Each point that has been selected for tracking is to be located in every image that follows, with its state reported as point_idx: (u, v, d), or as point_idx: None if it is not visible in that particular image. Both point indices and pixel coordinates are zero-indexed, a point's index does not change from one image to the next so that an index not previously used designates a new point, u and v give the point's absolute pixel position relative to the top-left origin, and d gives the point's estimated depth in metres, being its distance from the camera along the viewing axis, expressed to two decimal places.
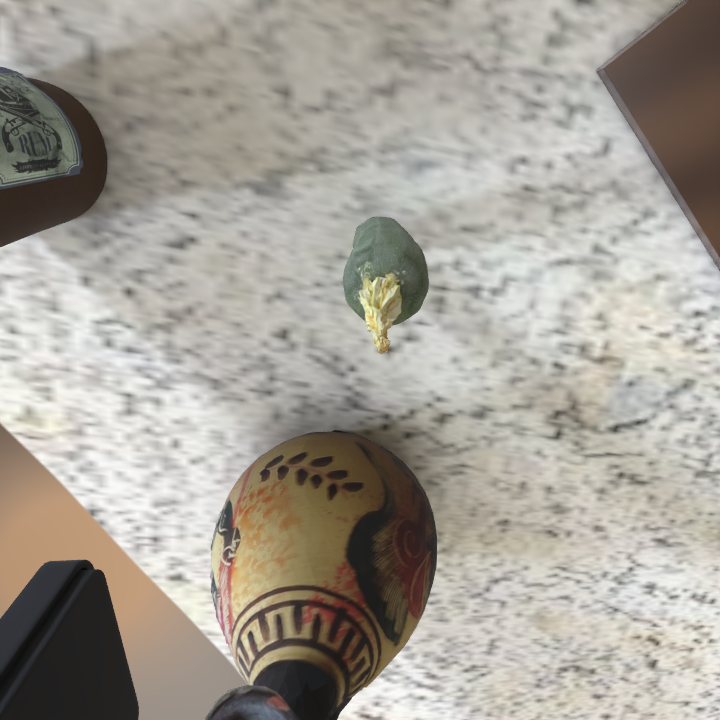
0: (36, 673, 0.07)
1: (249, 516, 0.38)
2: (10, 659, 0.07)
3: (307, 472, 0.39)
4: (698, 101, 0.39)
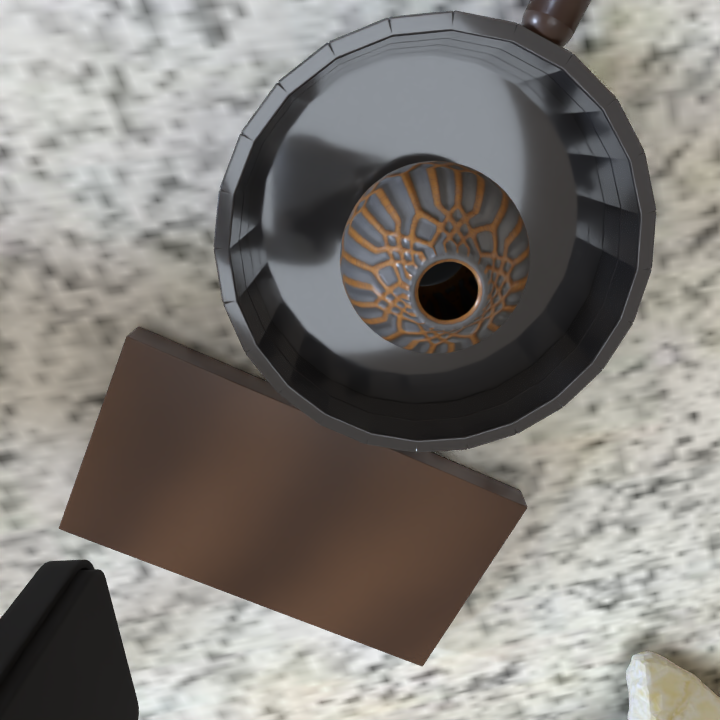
0: (37, 673, 0.07)
1: None
2: (11, 659, 0.07)
3: None
4: (184, 512, 0.30)
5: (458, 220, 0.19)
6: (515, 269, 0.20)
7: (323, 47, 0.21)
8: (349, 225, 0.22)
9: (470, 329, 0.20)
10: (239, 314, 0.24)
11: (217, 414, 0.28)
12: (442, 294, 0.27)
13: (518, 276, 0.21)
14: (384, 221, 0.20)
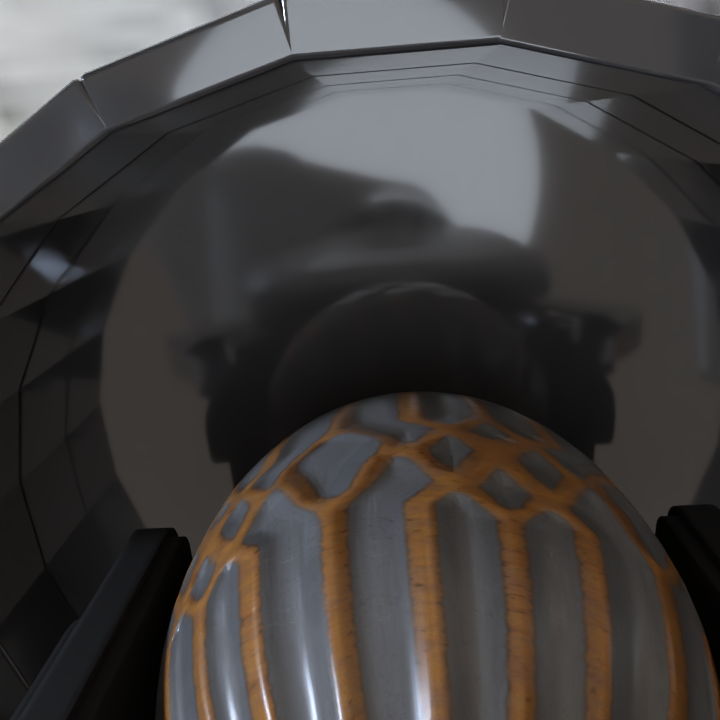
0: (145, 625, 0.08)
1: None
2: (122, 612, 0.08)
3: None
4: None
5: None
6: None
7: (63, 94, 0.06)
8: (171, 630, 0.07)
9: None
10: None
11: None
12: None
13: None
14: None
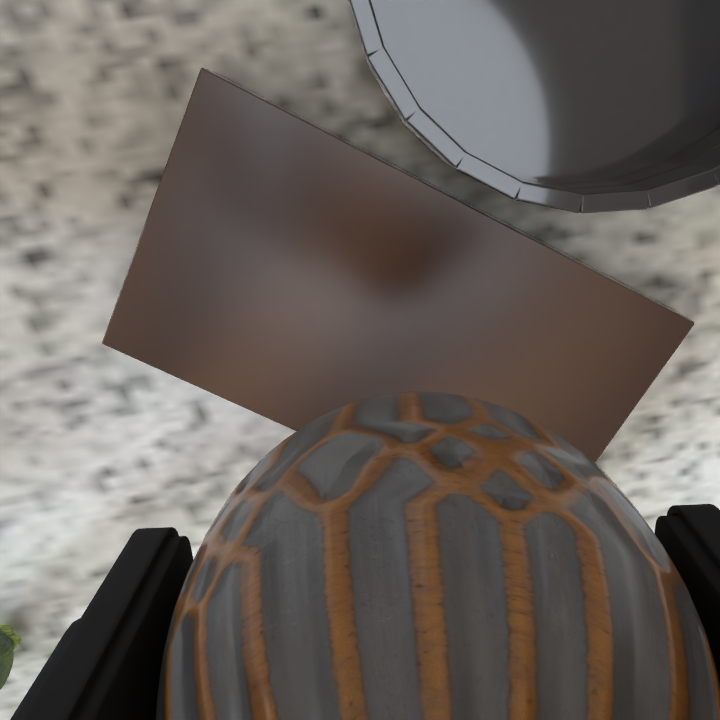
0: (146, 625, 0.08)
1: None
2: (123, 612, 0.08)
3: None
4: (259, 323, 0.24)
5: None
6: None
7: None
8: (172, 631, 0.07)
9: None
10: None
11: (310, 183, 0.22)
12: None
13: None
14: None
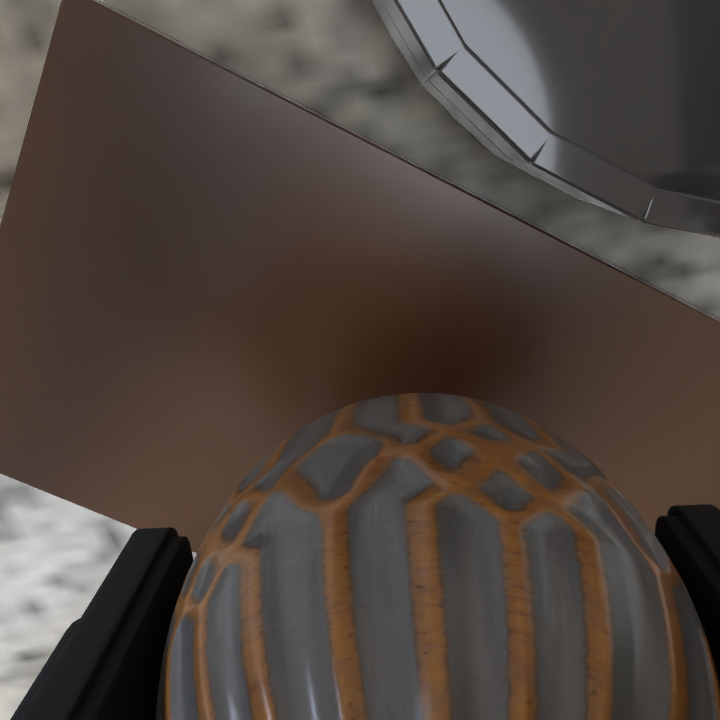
0: (145, 625, 0.08)
1: None
2: (123, 612, 0.08)
3: None
4: (190, 418, 0.15)
5: None
6: None
7: None
8: (172, 631, 0.07)
9: None
10: None
11: (266, 191, 0.13)
12: None
13: None
14: None
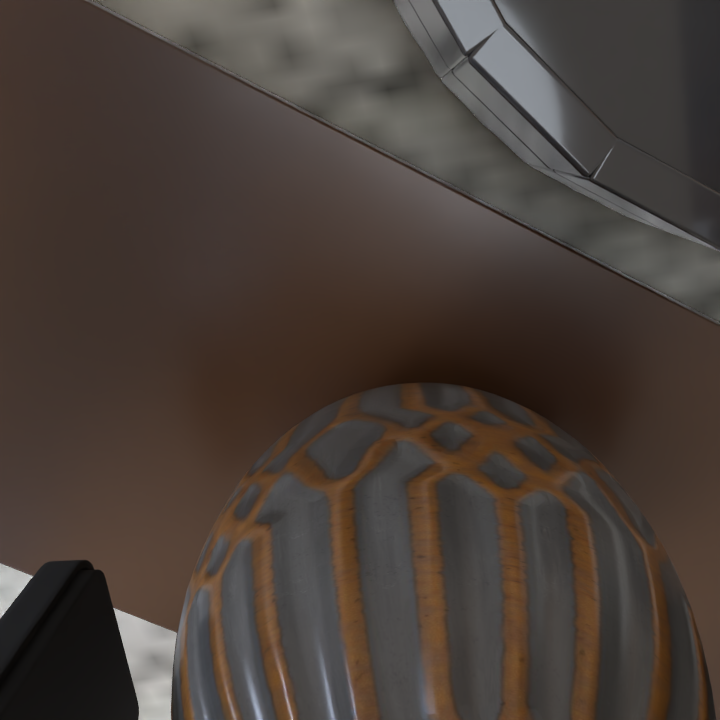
0: (36, 673, 0.07)
1: None
2: (10, 659, 0.07)
3: None
4: (161, 477, 0.12)
5: None
6: None
7: None
8: (187, 605, 0.08)
9: None
10: None
11: (249, 210, 0.11)
12: None
13: None
14: None
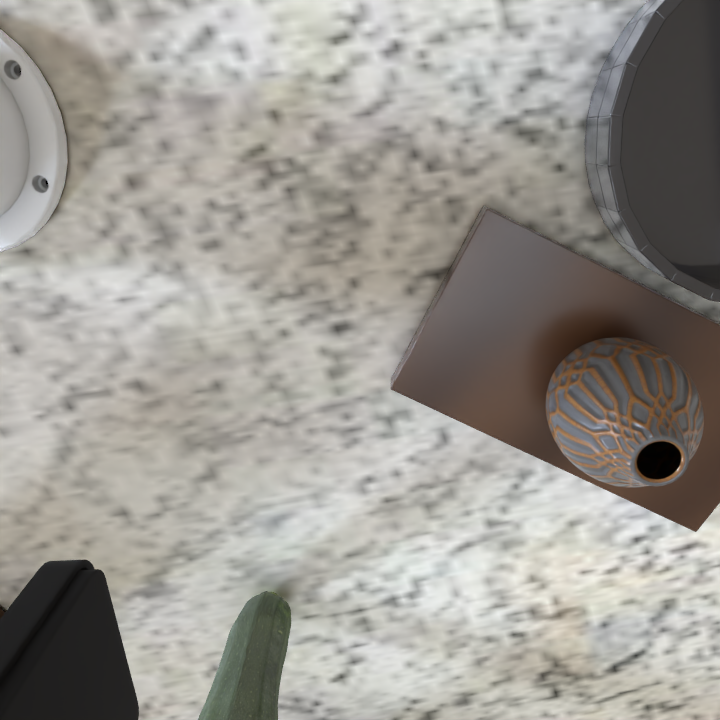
0: (36, 673, 0.07)
1: None
2: (10, 659, 0.07)
3: None
4: (505, 375, 0.34)
5: (663, 406, 0.27)
6: (698, 436, 0.28)
7: None
8: (564, 391, 0.30)
9: None
10: (619, 176, 0.28)
11: (553, 282, 0.33)
12: None
13: (699, 438, 0.28)
14: (603, 400, 0.28)
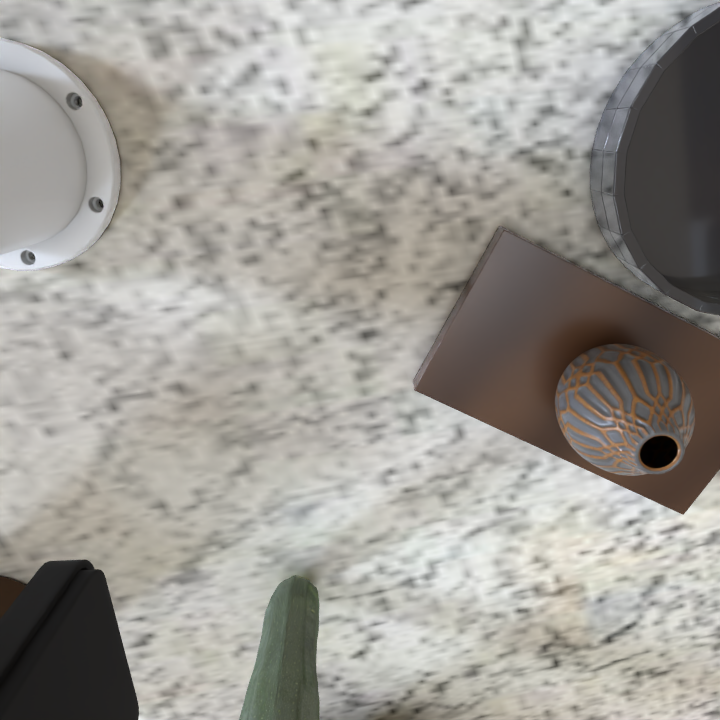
0: (36, 673, 0.07)
1: None
2: (10, 659, 0.07)
3: None
4: (517, 377, 0.39)
5: (662, 405, 0.31)
6: (691, 430, 0.32)
7: None
8: (574, 392, 0.34)
9: None
10: (623, 204, 0.32)
11: (561, 294, 0.37)
12: None
13: (691, 432, 0.33)
14: (610, 400, 0.32)
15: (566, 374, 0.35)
